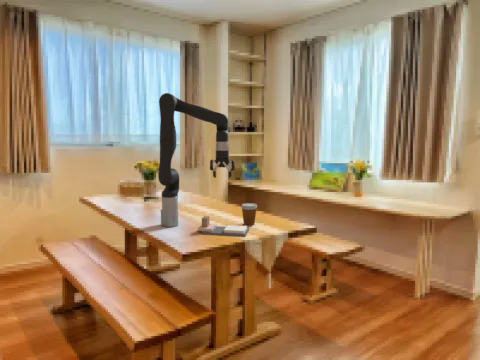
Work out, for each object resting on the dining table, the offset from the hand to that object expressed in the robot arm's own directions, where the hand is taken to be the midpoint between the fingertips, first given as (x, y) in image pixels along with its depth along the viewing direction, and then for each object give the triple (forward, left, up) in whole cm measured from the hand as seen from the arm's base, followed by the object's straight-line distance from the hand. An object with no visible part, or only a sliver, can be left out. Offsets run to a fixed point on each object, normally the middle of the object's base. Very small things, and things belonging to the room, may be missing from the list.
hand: (222, 177), depth 203 cm
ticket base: (+5, -13, -28) cm, 31 cm away
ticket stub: (-6, -13, -27) cm, 30 cm away
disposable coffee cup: (+15, +5, -28) cm, 32 cm away
